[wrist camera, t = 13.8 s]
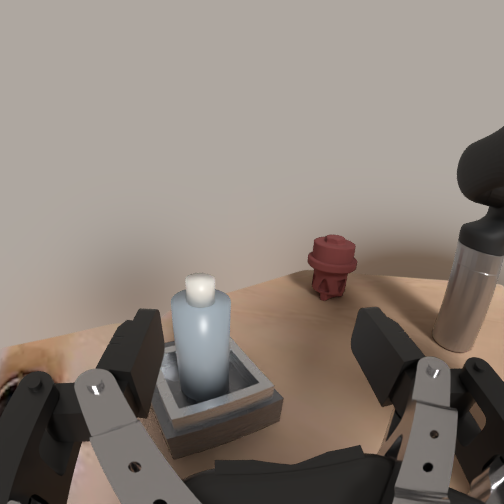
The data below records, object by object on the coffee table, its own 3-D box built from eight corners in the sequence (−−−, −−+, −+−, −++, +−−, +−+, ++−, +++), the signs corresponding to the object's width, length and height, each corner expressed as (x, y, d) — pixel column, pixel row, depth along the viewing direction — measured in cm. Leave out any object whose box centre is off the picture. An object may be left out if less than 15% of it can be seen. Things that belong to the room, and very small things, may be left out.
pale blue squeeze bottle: (216, 363, 29) (215, 264, 25) (237, 392, 25) (242, 286, 21) (174, 374, 27) (162, 271, 23) (191, 407, 22) (180, 297, 19)
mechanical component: (324, 310, 50) (294, 289, 58) (359, 299, 54) (329, 281, 62) (334, 246, 46) (300, 232, 54) (370, 242, 50) (336, 229, 58)
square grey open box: (221, 350, 37) (220, 315, 36) (279, 420, 26) (285, 384, 24) (139, 370, 32) (130, 333, 30) (173, 459, 20) (162, 426, 18)
